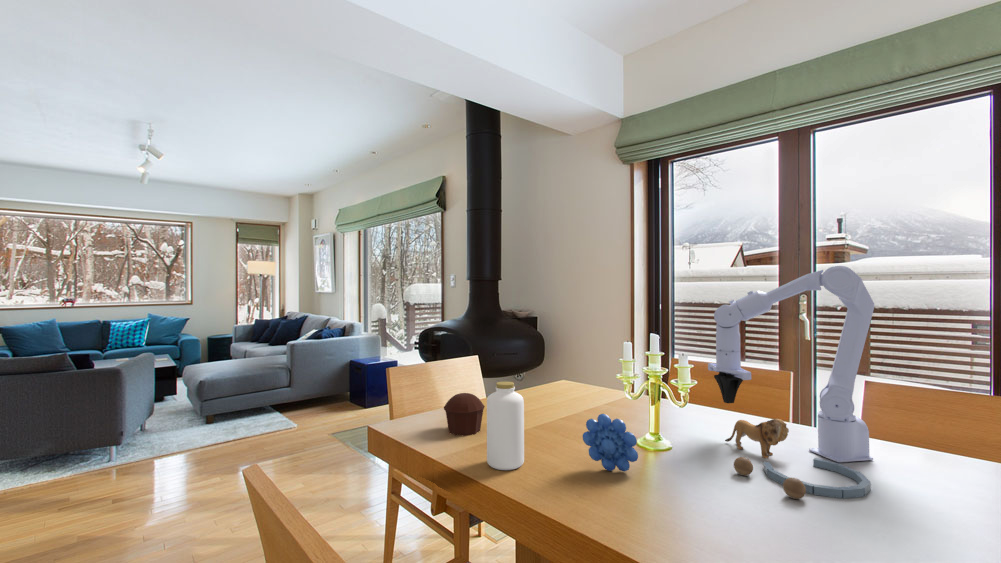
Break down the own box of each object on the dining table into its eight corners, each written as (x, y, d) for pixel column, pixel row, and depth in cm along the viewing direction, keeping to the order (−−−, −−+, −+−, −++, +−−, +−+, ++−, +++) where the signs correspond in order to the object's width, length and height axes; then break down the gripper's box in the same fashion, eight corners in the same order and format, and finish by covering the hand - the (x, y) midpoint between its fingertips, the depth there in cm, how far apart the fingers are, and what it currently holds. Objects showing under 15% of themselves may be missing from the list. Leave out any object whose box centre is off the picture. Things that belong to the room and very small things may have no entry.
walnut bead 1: (745, 470, 96) (744, 453, 96) (757, 477, 92) (757, 460, 92) (729, 472, 95) (729, 454, 95) (741, 479, 92) (741, 461, 92)
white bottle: (531, 464, 100) (531, 382, 100) (506, 475, 94) (506, 388, 94) (504, 454, 106) (504, 378, 106) (478, 464, 100) (478, 383, 100)
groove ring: (824, 464, 100) (824, 457, 100) (893, 493, 85) (893, 485, 85) (754, 469, 97) (753, 462, 97) (813, 501, 82) (812, 492, 82)
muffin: (450, 423, 131) (449, 389, 131) (487, 425, 129) (487, 390, 130) (438, 436, 119) (438, 398, 119) (479, 438, 118) (479, 400, 118)
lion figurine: (793, 458, 103) (792, 419, 103) (782, 463, 100) (781, 423, 100) (730, 441, 115) (730, 405, 115) (718, 445, 112) (718, 408, 112)
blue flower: (579, 474, 94) (578, 417, 94) (584, 463, 100) (584, 409, 101) (637, 482, 90) (636, 422, 90) (638, 470, 97) (638, 413, 97)
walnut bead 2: (795, 492, 85) (794, 473, 85) (811, 501, 82) (810, 481, 82) (778, 494, 85) (777, 475, 85) (793, 503, 81) (793, 483, 81)
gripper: (697, 347, 125) (698, 396, 124) (733, 354, 110) (733, 410, 110) (720, 347, 126) (721, 395, 126) (758, 354, 112) (759, 409, 111)
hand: (728, 402), depth 118 cm, fingers closed
